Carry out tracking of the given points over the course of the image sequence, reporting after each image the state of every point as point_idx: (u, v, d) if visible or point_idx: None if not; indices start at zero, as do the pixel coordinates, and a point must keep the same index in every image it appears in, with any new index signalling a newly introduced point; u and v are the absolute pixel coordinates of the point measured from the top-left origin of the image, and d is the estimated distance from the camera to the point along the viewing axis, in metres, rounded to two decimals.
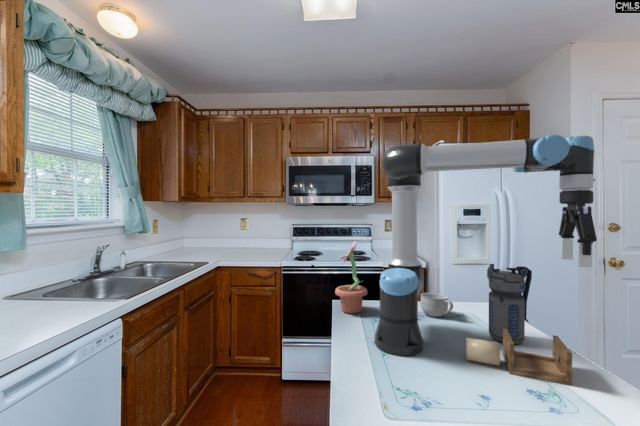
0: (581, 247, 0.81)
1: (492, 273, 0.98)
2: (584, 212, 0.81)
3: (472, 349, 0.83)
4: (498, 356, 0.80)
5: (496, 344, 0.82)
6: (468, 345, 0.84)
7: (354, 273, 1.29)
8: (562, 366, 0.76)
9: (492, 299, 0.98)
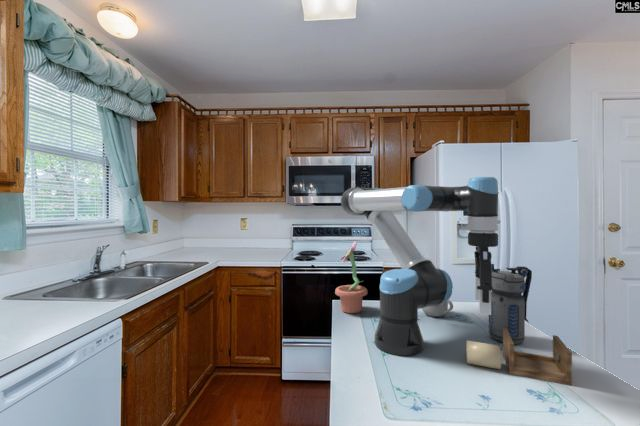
0: (481, 294, 0.78)
1: (492, 273, 0.98)
2: (484, 257, 0.78)
3: (473, 360, 0.81)
4: (499, 366, 0.79)
5: (498, 354, 0.79)
6: (468, 356, 0.81)
7: (354, 273, 1.29)
8: (562, 366, 0.76)
9: (492, 299, 0.98)
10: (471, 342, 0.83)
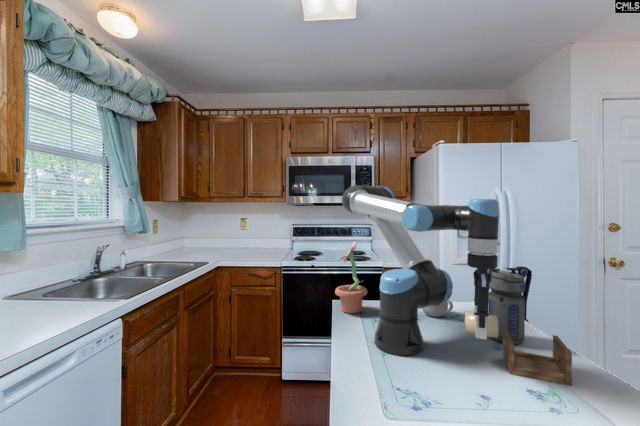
0: (478, 319, 0.82)
1: (492, 273, 0.98)
2: (482, 286, 0.79)
3: (471, 325, 0.83)
4: (496, 331, 0.81)
5: (495, 319, 0.82)
6: (467, 321, 0.84)
7: (354, 273, 1.29)
8: (562, 366, 0.76)
9: (492, 299, 0.98)
10: (469, 312, 0.87)
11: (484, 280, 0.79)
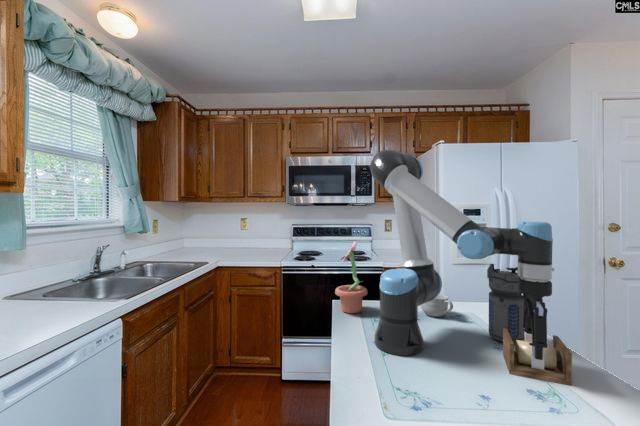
0: (533, 349, 0.77)
1: (492, 273, 0.98)
2: (539, 314, 0.74)
3: (526, 356, 0.79)
4: (554, 363, 0.76)
5: (552, 350, 0.77)
6: (521, 352, 0.79)
7: (354, 273, 1.29)
8: (562, 366, 0.76)
9: (492, 299, 0.98)
10: None
11: (541, 308, 0.74)
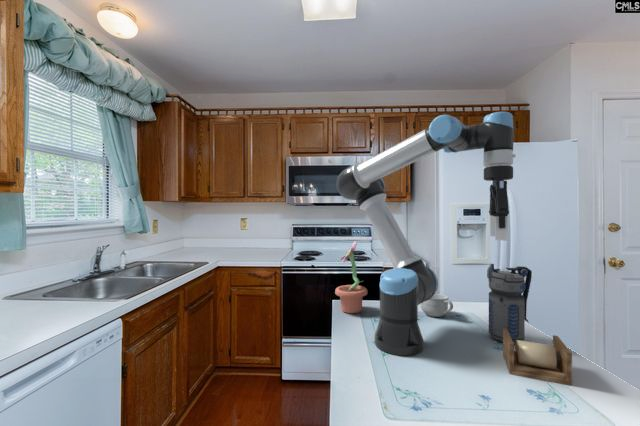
0: (497, 221, 0.82)
1: (492, 273, 0.98)
2: (500, 186, 0.82)
3: (526, 356, 0.79)
4: (554, 363, 0.76)
5: (552, 350, 0.77)
6: (521, 352, 0.79)
7: (354, 273, 1.29)
8: (562, 366, 0.76)
9: (492, 299, 0.98)
10: None
11: (501, 181, 0.82)
